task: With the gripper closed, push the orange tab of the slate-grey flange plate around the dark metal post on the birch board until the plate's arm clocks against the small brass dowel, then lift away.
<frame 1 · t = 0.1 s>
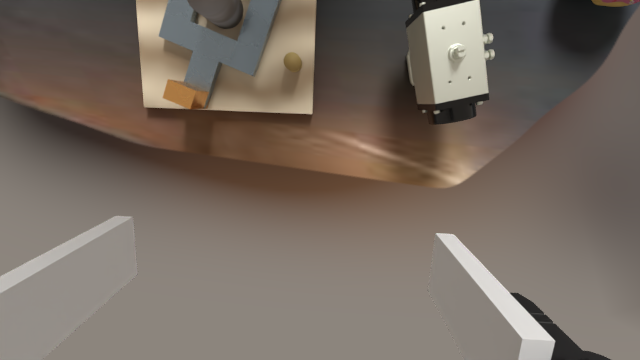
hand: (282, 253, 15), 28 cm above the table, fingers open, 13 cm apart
post board: (228, 12, 38), on the table
flange plate: (209, 28, 35), point 4 cm above the table, hinge at 0.0°
pneumatic valve: (425, 66, 39), on the table
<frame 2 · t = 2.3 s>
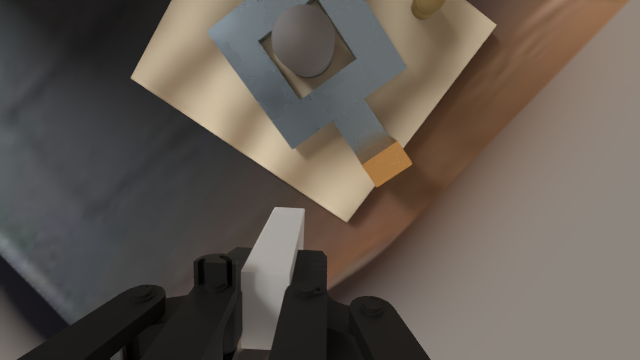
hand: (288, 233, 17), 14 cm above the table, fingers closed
post board: (309, 54, 28), on the table
flange plate: (328, 79, 25), point 4 cm above the table, hinge at 0.0°
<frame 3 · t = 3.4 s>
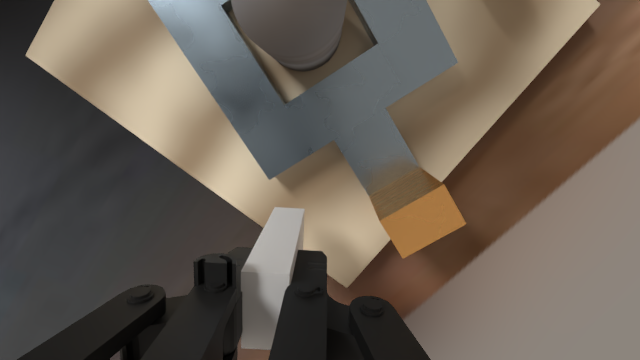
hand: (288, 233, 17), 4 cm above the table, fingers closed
post board: (304, 35, 18), on the table
flange plate: (330, 73, 15), point 4 cm above the table, hinge at 0.0°
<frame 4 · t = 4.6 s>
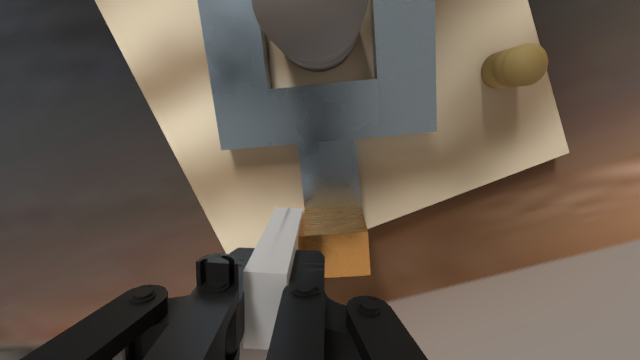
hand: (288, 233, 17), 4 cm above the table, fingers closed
post board: (319, 35, 18), on the table
flange plate: (320, 83, 15), point 4 cm above the table, hinge at 2.2°, touching gripper
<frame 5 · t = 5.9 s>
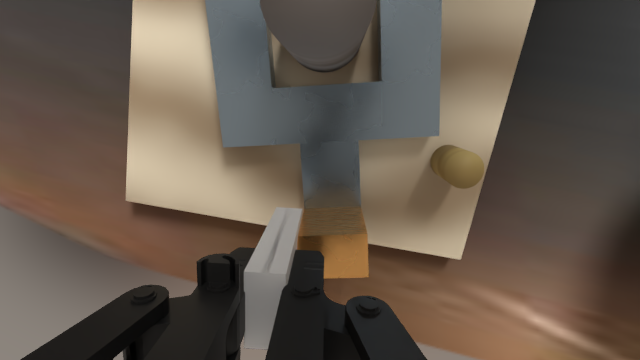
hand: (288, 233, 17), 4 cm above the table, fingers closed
post board: (324, 36, 18), on the table
flange plate: (325, 84, 15), point 4 cm above the table, hinge at 33.0°, touching gripper
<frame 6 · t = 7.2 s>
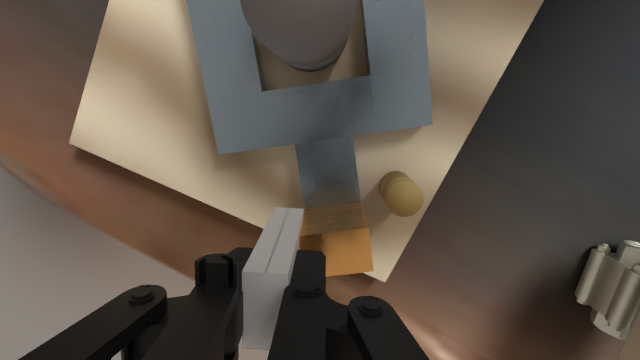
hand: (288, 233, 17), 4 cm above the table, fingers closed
post board: (310, 35, 18), on the table
flange plate: (314, 83, 15), point 4 cm above the table, hinge at 52.8°, touching gripper
pneumatic valve: (609, 274, 21), on the table
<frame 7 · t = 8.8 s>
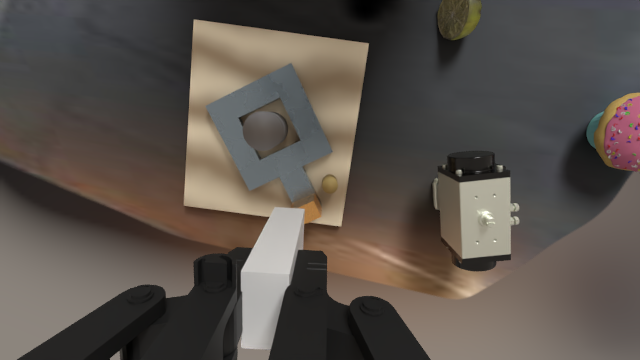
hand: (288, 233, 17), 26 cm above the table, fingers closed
post board: (273, 128, 41), on the table
flange plate: (278, 152, 38), point 4 cm above the table, hinge at 52.8°
pneumatic valve: (448, 191, 43), on the table
cupcake: (603, 131, 41), on the table
lime: (450, 20, 39), on the table
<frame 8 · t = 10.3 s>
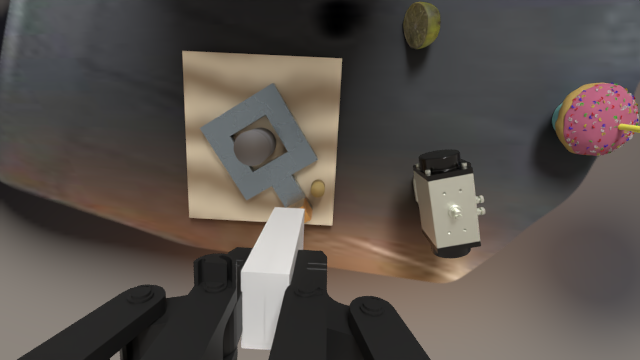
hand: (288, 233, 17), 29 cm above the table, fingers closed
post board: (262, 141, 45), on the table
flange plate: (268, 164, 42), point 4 cm above the table, hinge at 52.8°
pneumatic valve: (428, 186, 46), on the table
cupcake: (567, 118, 44), on the table
lime: (415, 29, 42), on the table
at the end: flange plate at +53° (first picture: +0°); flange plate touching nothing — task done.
